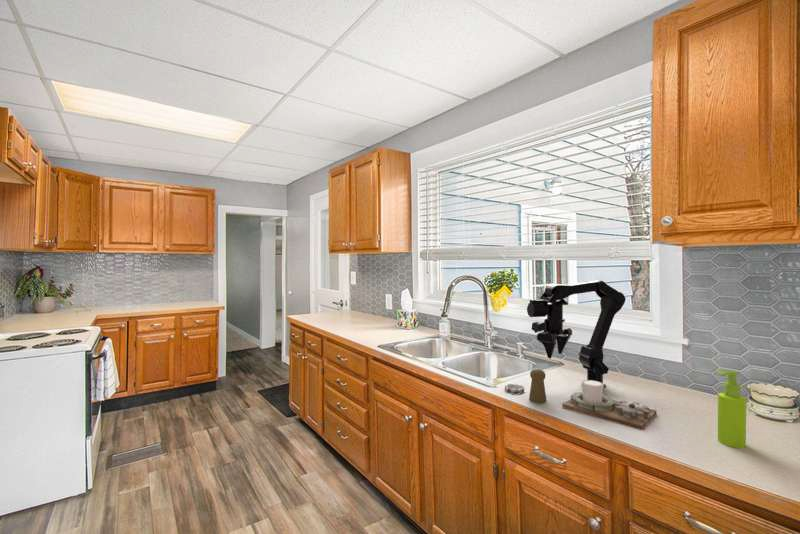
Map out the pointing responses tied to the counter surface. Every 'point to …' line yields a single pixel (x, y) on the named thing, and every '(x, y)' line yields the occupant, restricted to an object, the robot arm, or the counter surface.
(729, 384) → the soap dispenser
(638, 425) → the gear board
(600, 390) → the white cylinder
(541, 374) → the brown pepper mill
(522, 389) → the gear
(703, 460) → the counter surface
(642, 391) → the counter surface
